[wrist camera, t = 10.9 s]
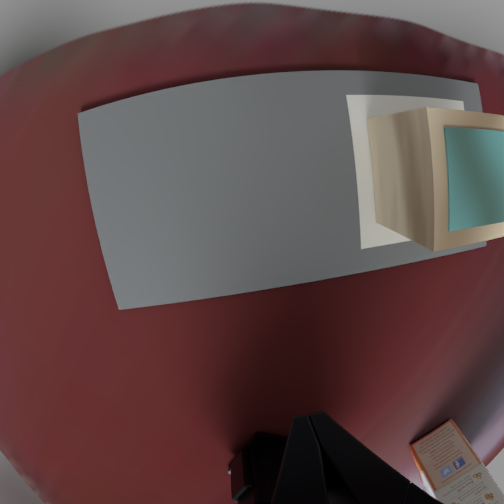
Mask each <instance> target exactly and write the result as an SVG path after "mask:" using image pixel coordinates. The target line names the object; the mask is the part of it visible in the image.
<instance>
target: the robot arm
mask: <svg viewBox="0 0 504 504" xmlns="http://www.w3.org/2000/svg"><path fill="white" fill-rule="evenodd" d="M228 473H229V474H230V475H231V492H232V499H233V501H237V502H238V504H444V503H442V502H440V501H438V500H437V499H435V498H433V497H432V496H430V495H429V494H427V493H426V492H425V491H423V490H422V489H420V488H419V487H418V486H416V485H415V484H414V483H410V481H409V480H408V479H407V478H405V477H404V476H403V475H401V474H400V473H399V472H397V471H396V470H395V469H394V468H392V467H391V466H390V465H388V464H387V463H386V462H385V461H383V460H382V459H381V458H379V457H378V456H377V455H376V454H374V453H373V452H372V451H371V450H369V449H368V448H367V447H366V446H364V445H363V444H362V443H361V442H360V441H358V440H357V439H356V438H355V437H354V436H352V435H351V434H350V433H349V432H348V431H346V430H345V429H344V428H343V427H342V426H340V425H339V424H338V423H337V422H336V421H334V420H333V419H332V418H331V417H330V416H329V415H327V414H326V413H325V412H317V413H312V414H310V415H309V416H308V415H301V416H295V417H293V418H292V422H291V426H290V431H289V435H288V438H287V437H281V436H276V435H271V434H266V433H257V434H255V435H254V436H253V438H252V439H251V440H250V442H249V443H248V444H247V445H246V447H245V448H244V449H242V450H241V451H240V452H239V454H238V455H237V456H236V458H235V459H234V460H233V461H232V463H231V464H230V467H229V469H228Z"/></svg>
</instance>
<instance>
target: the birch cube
mask: <svg viewBox="0 0 504 504" xmlns="http://www.w3.org/2000/svg"><path fill="white" fill-rule="evenodd" d="M367 125H368V133H369V141H370V149H371V159H372V169H373V181H374V194H375V211H376V223H378V224H380V225H382V226H384V227H386V228H388V229H390V230H392V231H394V232H396V233H398V234H400V235H402V236H404V237H406V238H408V239H410V240H412V241H414V242H416V243H418V244H420V245H422V246H424V247H426V248H428V249H429V250H431V251H433V252H435V251H440V250H445V249H449V248H454V247H459V246H463V245H468V244H473V243H477V242H482V241H486V240H491V239H495V238H500V237H504V116H502V115H496V114H489V113H481V112H473V111H464V110H454V109H443V108H429V107H425V108H420V109H415V110H409V111H404V112H399V113H395V114H390V115H385V116H381V117H376V118H372V119H367Z"/></svg>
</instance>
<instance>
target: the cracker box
mask: <svg viewBox="0 0 504 504" xmlns="http://www.w3.org/2000/svg"><path fill="white" fill-rule="evenodd" d="M409 448H410V450H411V453H412V455H413V458H414V461H415V464H416V466H417V469H418V472H419V474H420V477H421V480H422V482H423V485H424V487H425V489H426V491H427V493H428V494H429V495H430V496H432V497H433V498H435V499H437V500H438V501H440V502H442V503H444V504H504V495H503V493H502V492H501V490H500V488H499V487H498V485H497V484H496V482H495V481H494V479H493V478H492V476H491V475H490V473H489V471H488V470H487V468H486V467H485V465H484V464H483V462H482V461H481V459H480V458H479V456H478V455H477V454H476V452H475V451H474V449H473V448H472V446H471V445H470V443H469V442H468V441H467V439H466V438H465V436H464V435H463V433H462V432H461V431H460V429H459V428H458V426H457V425H456V424H455V422H454V421H453V420H452V419H450V420H448V421H447V422H446V423H444V424H443V425H441V426H440V427H438V428H437V429H435V430H433V431H432V432H430V433H429V434H427V435H426V436H424V437H422V438H421V439H419V440H418V441H416V442H414V443H413V444H411V445H409Z"/></svg>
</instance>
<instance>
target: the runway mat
mask: <svg viewBox="0 0 504 504" xmlns="http://www.w3.org/2000/svg"><path fill="white" fill-rule="evenodd" d="M425 107H429V108H443V109H454V110H464V111H473V112H481V113H483V112H482V105H481V98H480V92H479V87H478V84H476V83H471V82H466V81H460V80H454V79H448V78H441V77H434V76H426V75H417V74H407V73H395V72H380V71H352V70H323V71H295V72H280V73H267V74H257V75H247V76H239V77H231V78H224V79H217V80H211V81H204V82H199V83H193V84H188V85H182V86H177V87H172V88H168V89H163V90H159V91H154V92H150V93H146V94H142V95H138V96H134V97H130V98H127V99H123V100H119V101H116V102H112V103H109V104H106V105H102V106H99V107H96V108H93V109H90V110H87V111H84V112H81V113H78V121H79V130H80V138H81V146H82V153H83V160H84V166H85V172H86V178H87V184H88V189H89V195H90V200H91V205H92V210H93V214H94V219H95V224H96V228H97V232H98V237H99V241H100V245H101V249H102V253H103V257H104V260H105V264H106V268H107V271H108V275H109V278H110V282H111V285H112V289H113V292H114V295H115V299H116V302H117V305H118V308H119V310H122V309H130V308H138V307H146V306H154V305H162V304H170V303H177V302H184V301H192V300H199V299H206V298H213V297H220V296H226V295H233V294H239V293H246V292H252V291H259V290H265V289H271V288H277V287H283V286H289V285H295V284H301V283H307V282H312V281H318V280H324V279H329V278H335V277H340V276H346V275H351V274H356V273H362V272H367V271H372V270H377V269H382V268H387V267H392V266H397V265H402V264H407V263H412V262H417V261H421V260H426V259H431V258H435V257H440V256H445V255H449V254H454V253H458V252H462V251H467V250H471V249H476V248H480V247H484V246H486V242H487V240H486V241H482V242H477V243H473V244H468V245H463V246H459V247H454V248H449V249H445V250H440V251H435V252H433V251H431V250H429V249H428V248H426V247H424V246H422V245H420V244H418V243H416V242H414V241H412V240H410V239H408V238H406V237H404V236H402V235H400V234H398V233H396V232H394V231H392V230H390V229H388V228H386V227H384V226H382V225H380V224H378V223H376V211H375V194H374V181H373V169H372V159H371V149H370V141H369V133H368V125H367V119H372V118H376V117H381V116H385V115H390V114H395V113H399V112H404V111H409V110H415V109H420V108H425Z"/></svg>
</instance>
